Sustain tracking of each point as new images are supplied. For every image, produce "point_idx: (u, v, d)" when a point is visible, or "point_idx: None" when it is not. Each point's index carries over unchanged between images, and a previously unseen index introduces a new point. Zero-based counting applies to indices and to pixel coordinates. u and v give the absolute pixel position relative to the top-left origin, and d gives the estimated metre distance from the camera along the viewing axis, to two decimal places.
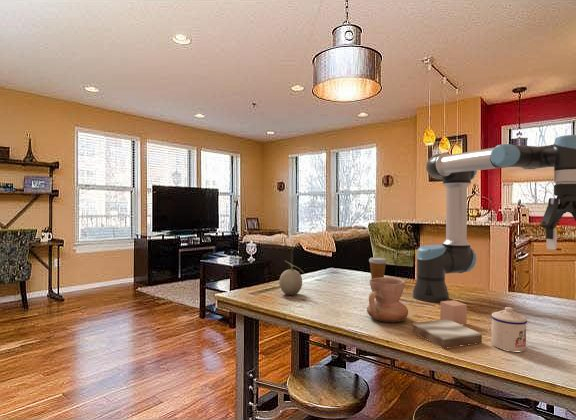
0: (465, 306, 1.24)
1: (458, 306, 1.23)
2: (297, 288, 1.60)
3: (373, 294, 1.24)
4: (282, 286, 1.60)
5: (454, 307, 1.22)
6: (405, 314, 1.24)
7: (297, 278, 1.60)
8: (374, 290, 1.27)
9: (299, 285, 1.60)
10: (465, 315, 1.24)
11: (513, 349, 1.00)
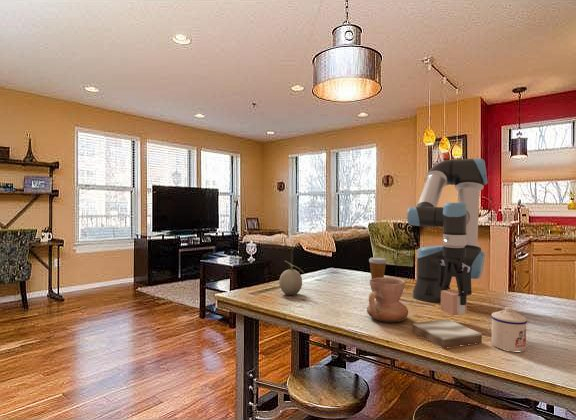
0: None
1: None
2: (297, 288, 1.60)
3: (373, 294, 1.24)
4: (282, 286, 1.60)
5: (454, 296, 1.23)
6: (405, 314, 1.24)
7: (297, 278, 1.60)
8: (374, 290, 1.27)
9: (299, 285, 1.60)
10: None
11: (513, 349, 1.00)
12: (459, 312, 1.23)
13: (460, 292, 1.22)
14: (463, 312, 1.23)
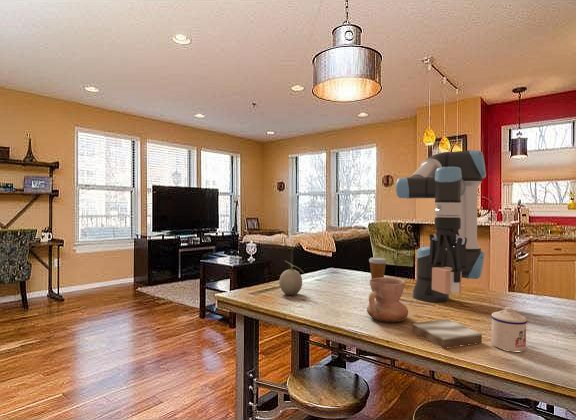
0: None
1: None
2: (297, 288, 1.60)
3: (373, 294, 1.24)
4: (282, 286, 1.60)
5: (447, 272, 1.08)
6: (405, 314, 1.24)
7: (297, 278, 1.60)
8: (374, 290, 1.27)
9: (299, 285, 1.60)
10: None
11: (513, 349, 1.00)
12: (452, 291, 1.07)
13: (454, 268, 1.07)
14: (457, 291, 1.08)
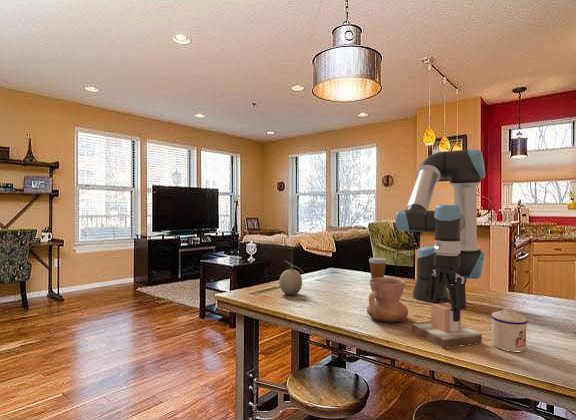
0: None
1: None
2: (297, 288, 1.60)
3: (373, 294, 1.24)
4: (282, 286, 1.60)
5: (446, 311, 1.08)
6: (405, 314, 1.24)
7: (297, 278, 1.60)
8: (374, 290, 1.27)
9: (299, 285, 1.60)
10: None
11: (513, 349, 1.00)
12: (452, 329, 1.08)
13: (453, 306, 1.07)
14: (457, 330, 1.08)
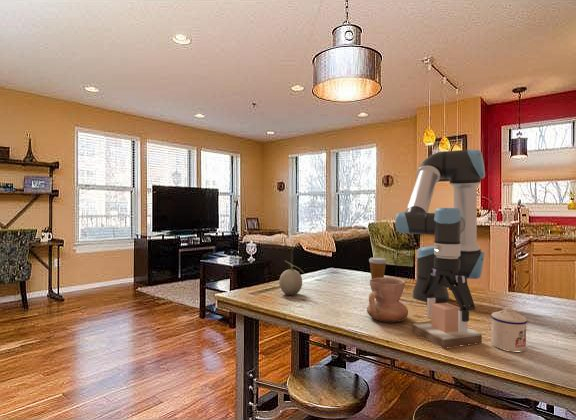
0: (459, 309, 1.09)
1: (451, 310, 1.08)
2: (297, 288, 1.60)
3: (373, 294, 1.24)
4: (282, 286, 1.60)
5: (446, 311, 1.08)
6: (405, 314, 1.24)
7: (297, 278, 1.60)
8: (374, 290, 1.27)
9: (299, 285, 1.60)
10: None
11: (513, 349, 1.00)
12: (461, 330, 1.04)
13: (461, 306, 1.04)
14: (466, 330, 1.05)
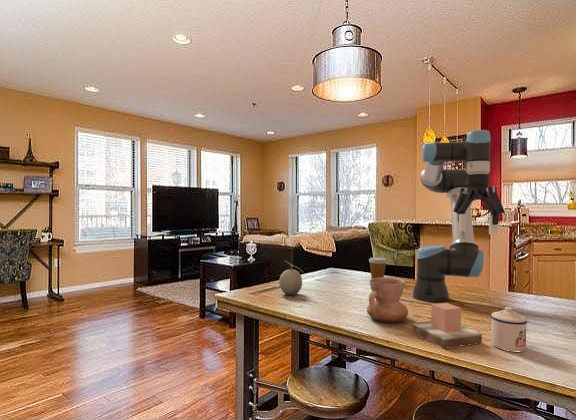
0: (459, 309, 1.09)
1: (451, 310, 1.08)
2: (297, 288, 1.60)
3: (373, 294, 1.24)
4: (282, 286, 1.60)
5: (446, 311, 1.08)
6: (405, 314, 1.24)
7: (297, 278, 1.60)
8: (374, 290, 1.27)
9: (299, 285, 1.60)
10: (459, 320, 1.09)
11: (513, 349, 1.00)
12: (491, 232, 1.21)
13: (492, 211, 1.21)
14: (496, 233, 1.22)
